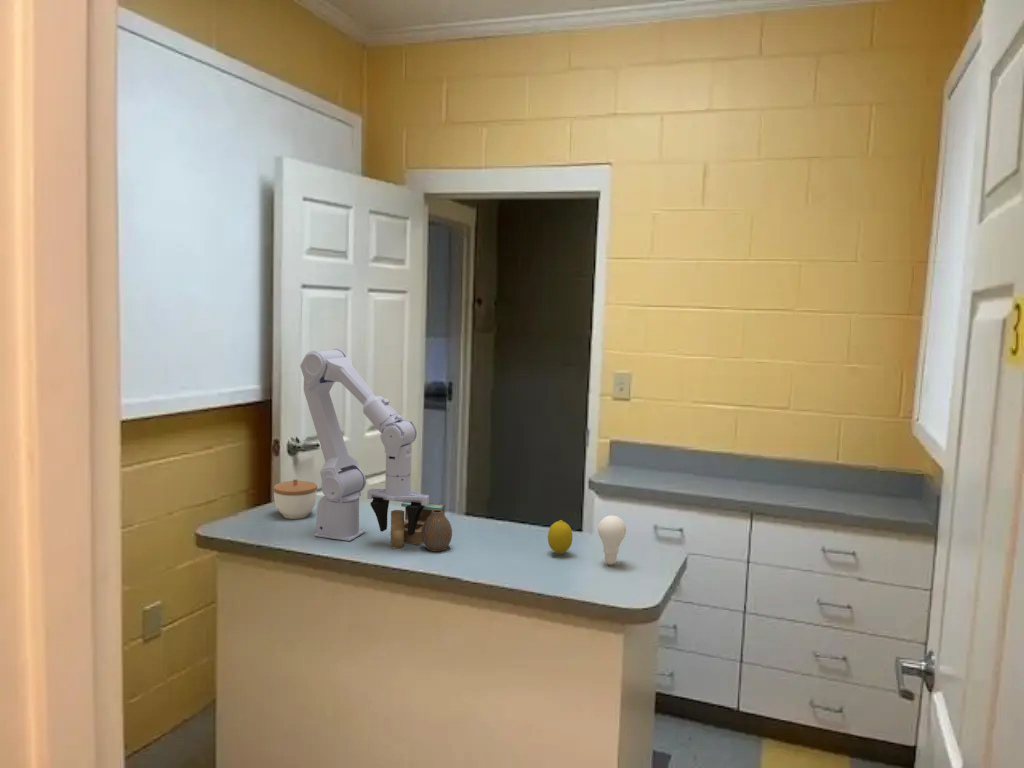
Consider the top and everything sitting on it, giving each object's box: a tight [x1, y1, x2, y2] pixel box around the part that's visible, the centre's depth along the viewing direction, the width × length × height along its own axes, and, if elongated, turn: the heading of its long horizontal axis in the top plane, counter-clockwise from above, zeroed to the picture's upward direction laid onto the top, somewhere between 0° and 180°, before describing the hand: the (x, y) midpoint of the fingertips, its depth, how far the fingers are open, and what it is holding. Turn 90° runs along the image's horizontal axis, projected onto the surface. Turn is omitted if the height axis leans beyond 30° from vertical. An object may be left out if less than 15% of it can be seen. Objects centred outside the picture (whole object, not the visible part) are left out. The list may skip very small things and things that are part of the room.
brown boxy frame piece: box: [400, 502, 446, 546], centre depth 184 cm, size 10×11×7 cm
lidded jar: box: [272, 478, 318, 520], centre depth 197 cm, size 11×11×9 cm
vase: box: [422, 510, 453, 552], centre depth 176 cm, size 7×7×9 cm
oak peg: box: [390, 509, 405, 549], centre depth 177 cm, size 3×3×8 cm
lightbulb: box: [597, 515, 627, 566], centre depth 169 cm, size 6×6×11 cm
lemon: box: [547, 519, 573, 556], centre depth 174 cm, size 6×6×8 cm
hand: (397, 532), depth 177 cm, fingers open, 6 cm apart
